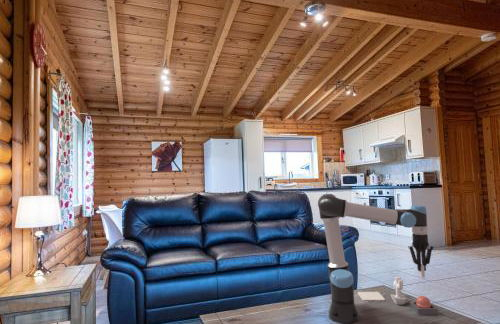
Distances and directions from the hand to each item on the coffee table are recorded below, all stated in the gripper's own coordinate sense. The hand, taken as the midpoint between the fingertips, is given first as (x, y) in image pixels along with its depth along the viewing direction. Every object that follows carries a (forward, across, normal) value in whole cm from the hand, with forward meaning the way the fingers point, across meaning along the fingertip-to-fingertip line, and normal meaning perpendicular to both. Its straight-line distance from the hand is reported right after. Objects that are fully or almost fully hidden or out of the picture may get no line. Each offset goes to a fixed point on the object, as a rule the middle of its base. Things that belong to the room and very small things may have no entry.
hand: (422, 276), depth 179 cm
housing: (+18, 0, 0) cm, 18 cm away
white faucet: (+19, -9, +11) cm, 23 cm away
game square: (+18, -22, +21) cm, 36 cm away
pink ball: (+18, 0, 0) cm, 18 cm away
